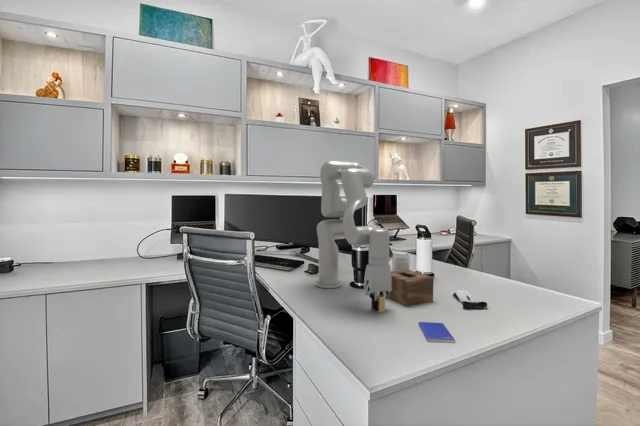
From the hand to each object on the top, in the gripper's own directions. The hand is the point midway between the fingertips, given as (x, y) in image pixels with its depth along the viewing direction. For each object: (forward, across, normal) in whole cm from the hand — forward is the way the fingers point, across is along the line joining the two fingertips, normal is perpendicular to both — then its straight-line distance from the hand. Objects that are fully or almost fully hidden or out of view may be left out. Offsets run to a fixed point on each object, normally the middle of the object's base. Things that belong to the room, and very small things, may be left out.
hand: (378, 308), depth 120 cm
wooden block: (+1, 0, 0) cm, 1 cm away
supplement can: (+1, -34, -25) cm, 42 cm away
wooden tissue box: (+1, -20, -6) cm, 21 cm away
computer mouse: (+1, -38, +9) cm, 40 cm away
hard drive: (+1, -4, +24) cm, 24 cm away
